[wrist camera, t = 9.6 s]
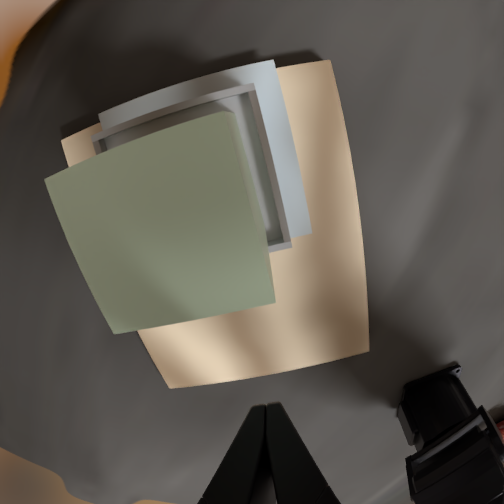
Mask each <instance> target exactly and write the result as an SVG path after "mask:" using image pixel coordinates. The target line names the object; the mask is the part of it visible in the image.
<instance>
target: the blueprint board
mask: <svg viewBox="0 0 504 504" xmlns="http://www.w3.org/2000/svg"><path fill="white" fill-rule="evenodd" d="M221 111H227V112H232V113H235V116H236V119H237V123H238V127H239V130H240V134H241V138H242V141H243V145H244V149H245V152H246V156H247V160H248V163H249V167H250V171H251V175H252V178H253V182H254V186H255V190H256V194H257V197H258V201H259V205H260V209H261V213H262V217H263V220H264V224H265V229H266V236H267V243H268V250H269V257H270V264H271V270H272V277H273V284H274V291H275V299H276V303H273V304H268V305H264V306H259V307H255V308H250V309H246V310H241V311H236V312H232V313H227V314H222V315H217V316H212V317H207V318H202V319H197V320H192V321H187V322H182V323H176V324H171V325H165V326H160V327H154V328H149V329H143V330H137V331H138V333H139V335H140V337H141V339H142V341H143V343H144V345H145V346H146V348H147V350H148V352H149V354H150V356H151V357H152V359H153V361H154V363H155V364H156V366H157V368H158V370H159V371H160V373H161V375H162V377H163V378H164V380H165V382H166V383H167V385H168V387H169V388H180V387H189V386H198V385H206V384H213V383H221V382H227V381H234V380H240V379H246V378H252V377H258V376H264V375H269V374H275V373H280V372H285V371H290V370H295V369H299V368H304V367H308V366H313V365H317V364H322V363H326V362H330V361H334V360H338V359H342V358H346V357H350V356H354V355H357V354H361V353H365V352H368V351H369V322H368V302H367V286H366V272H365V260H364V250H363V240H362V231H361V222H360V214H359V206H358V199H357V192H356V185H355V178H354V172H353V166H352V160H351V154H350V148H349V143H348V137H347V132H346V127H345V122H344V117H343V112H342V108H341V103H340V99H339V94H338V90H337V85H336V81H335V77H334V73H333V69H332V65H331V61H330V60H324V61H317V62H310V63H303V64H297V65H291V66H286V67H280V68H276V67H275V63H274V59H273V60H268V61H263V62H258V63H254V64H249V65H245V66H240V67H236V68H232V69H228V70H224V71H220V72H216V73H213V74H209V75H206V76H202V77H199V78H195V79H192V80H188V81H185V82H182V83H179V84H176V85H173V86H170V87H167V88H164V89H161V90H158V91H155V92H152V93H149V94H147V95H144V96H141V97H139V98H136V99H133V100H131V101H128V102H126V103H123V104H121V105H118V106H116V107H113V108H111V109H109V110H106V111H104V112H102V113H99V114H98V115H99V119H100V123H97V124H95V125H93V126H91V127H88V128H86V129H84V130H82V131H80V132H78V133H76V134H73V135H71V136H69V137H67V138H65V139H63V140H61V142H62V146H63V149H64V153H65V156H66V159H67V163H68V166H69V167H71V166H73V165H75V164H78V163H80V162H82V161H84V160H86V159H89V158H91V157H93V156H96V155H98V154H100V153H103V152H105V151H108V150H110V149H112V148H115V147H117V146H120V145H122V144H125V143H128V142H130V141H133V140H135V139H138V138H141V137H143V136H146V135H149V134H152V133H155V132H157V131H160V130H163V129H166V128H169V127H172V126H175V125H178V124H181V123H184V122H188V121H191V120H194V119H197V118H201V117H204V116H207V115H211V114H214V113H218V112H221Z"/></svg>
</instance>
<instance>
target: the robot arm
mask: <svg viewBox="0 0 504 504" xmlns="http://www.w3.org/2000/svg"><path fill="white" fill-rule="evenodd" d="M461 371H462V368H461V366H460V365H456V366H454V367H451V368H449V369H446V370H444V371H441V372H438V373H436V374H433V375H431V376H428V377H425V378H422V379H420V380H417V381H414V382H411V383H408V384H406V385H405V386H404V389H403V396H402V401H401V403H400V406H399V412H398V418H399V421H400V423H401V426H402V429H403V431H404V434H405V436H406V439H407V442H408V444H409V445H410V446H412V445H415V447H416V450H417V453H415V454H413V455H412V456H411V455H410V456H408V457H407V458H405V460H406V470H407V477H408V484H409V491H410V499H411V501H412V502H415V504H504V439H503V437H502V435H501V433H500V431H499V429H498V427H497V426H496V424H495V422H494V421H493V419H492V417H491V416H490V415H489V413H488V412H487V411H486V409H485V408H484V407H483V405H481V406H480V407H479V408H476V406H475V404H474V403H473V401H472V399H471V398H470V396H469V394H468V393H467V391H466V389H465V388H464V386H463V384H462V383H461V381H460V380H459V378H460V374H461ZM485 428H488V429H487V430H486V431H485V430H484V429H485ZM202 497H203V498H200V500H199V502H198V504H276V500H277V504H341V503H340V502H339V500H338V499H337V497H336V496H335V494H334V493H333V491H332V489H331V488H330V486H328V483H327V481H326V480H325V478H324V476H323V475H322V473H321V471H320V470H319V468H318V466H317V465H316V463H315V461H314V460H313V458H312V456H311V455H310V453H309V451H308V449H307V448H306V446H305V444H304V443H303V441H302V439H301V437H300V436H299V434H298V432H297V430H296V429H295V427H294V425H293V423H292V422H291V420H290V418H289V416H288V415H287V413H286V411H285V409H284V408H283V406H282V404H281V403H280V402H272V403H268V404H267V405H266V404H259V405H253V406H252V407H251V408H250V410H249V412H248V414H247V416H246V418H245V420H244V421H243V423H242V425H241V427H240V429H239V431H238V433H237V435H236V437H235V438H234V440H233V442H232V444H231V446H230V448H229V450H228V451H227V453H226V455H225V457H224V459H223V460H222V462H221V464H220V466H219V468H218V469H217V471H216V473H215V475H214V476H213V478H212V480H211V482H210V483H209V485H208V487H207V489H206V490H205V492H204V494H203V495H202Z"/></svg>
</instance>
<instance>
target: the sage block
mask: <svg viewBox="0 0 504 504" xmlns="http://www.w3.org/2000/svg"><path fill="white" fill-rule="evenodd" d="M44 180H45V183H46V186H47V189H48V192H49V195H50V197H51V200H52V203H53V206H54V208H55V211H56V213H57V216H58V219H59V221H60V224H61V226H62V228H63V231H64V233H65V236H66V238H67V240H68V243H69V245H70V247H71V250H72V252H73V254H74V256H75V259H76V261H77V263H78V265H79V267H80V270H81V272H82V274H83V276H84V278H85V280H86V282H87V284H88V286H89V288H90V290H91V292H92V294H93V296H94V298H95V300H96V302H97V304H98V306H99V308H100V309H101V311H102V313H103V315H104V317H105V319H106V321H107V322H108V324H109V326H110V328H111V330H112V331H113V333H114V334H119V333H125V332H131V331H137V330H143V329H149V328H154V327H160V326H165V325H171V324H176V323H182V322H187V321H192V320H197V319H202V318H207V317H212V316H217V315H222V314H227V313H232V312H236V311H241V310H246V309H250V308H255V307H259V306H264V305H268V304H273V303H276V299H275V291H274V284H273V277H272V270H271V264H270V257H269V250H268V243H267V236H266V229H265V224H264V220H263V217H262V213H261V209H260V205H259V201H258V197H257V194H256V190H255V186H254V182H253V178H252V175H251V171H250V167H249V163H248V160H247V156H246V152H245V149H244V145H243V141H242V138H241V134H240V130H239V127H238V123H237V119H236V116H235V113H232V112H227V111H221V112H218V113H214V114H211V115H207V116H204V117H201V118H197V119H194V120H191V121H188V122H184V123H181V124H178V125H175V126H172V127H169V128H166V129H163V130H160V131H157V132H155V133H152V134H149V135H146V136H143V137H141V138H138V139H135V140H133V141H130V142H128V143H125V144H122V145H120V146H117V147H115V148H112V149H110V150H108V151H105V152H103V153H100V154H98V155H96V156H93V157H91V158H89V159H86V160H84V161H82V162H80V163H78V164H75V165H73V166H71V167H69V168H67V169H65V170H62V171H60V172H58V173H56V174H54V175H52V176H50V177H48V178H46V179H44Z"/></svg>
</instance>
